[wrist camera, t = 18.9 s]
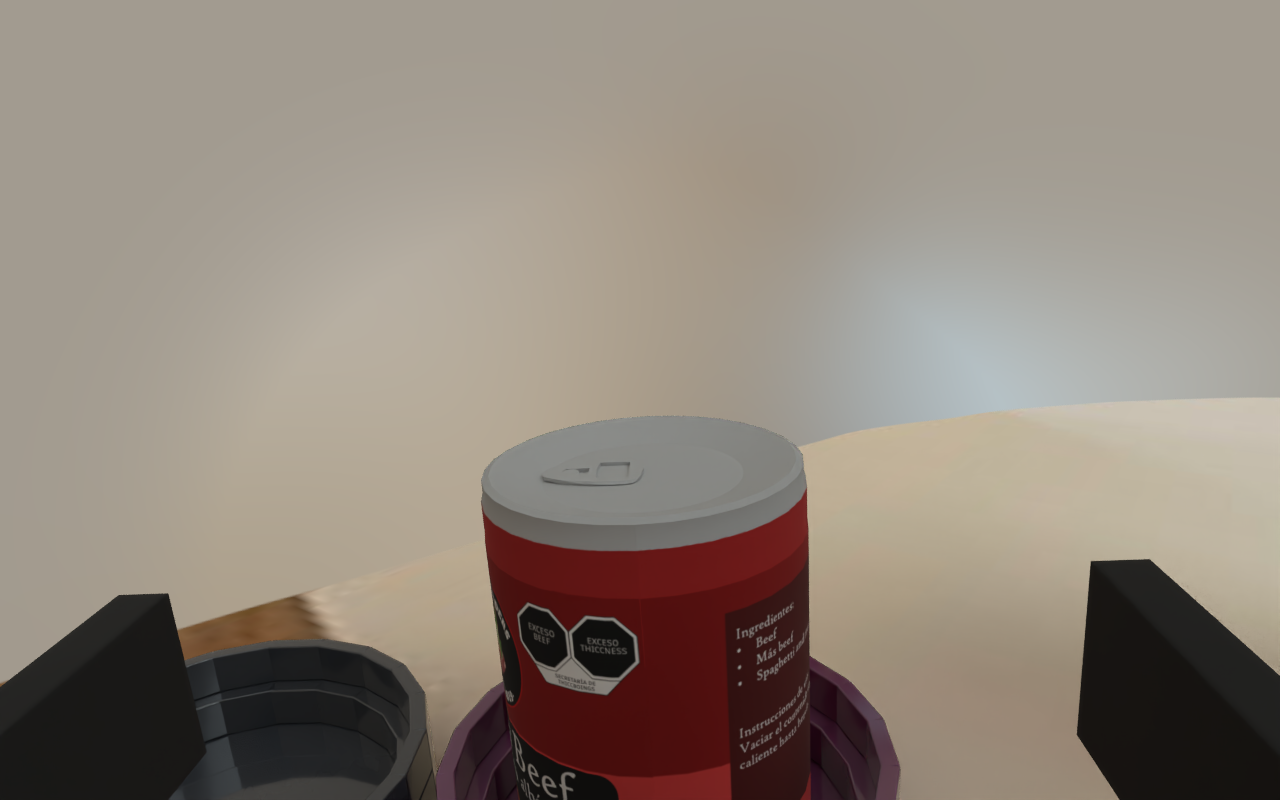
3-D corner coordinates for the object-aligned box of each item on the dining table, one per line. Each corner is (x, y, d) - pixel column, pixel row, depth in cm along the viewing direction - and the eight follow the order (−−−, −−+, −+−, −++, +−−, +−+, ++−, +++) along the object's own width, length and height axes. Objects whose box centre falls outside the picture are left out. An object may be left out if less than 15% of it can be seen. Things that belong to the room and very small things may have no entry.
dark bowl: (480, 708, 31) (469, 633, 30) (351, 1051, 19) (329, 943, 18) (151, 716, 32) (132, 643, 31) (-167, 1050, 20) (-210, 946, 19)
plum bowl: (850, 699, 30) (850, 622, 29) (956, 1053, 18) (961, 940, 17) (502, 708, 31) (492, 633, 30) (387, 1051, 19) (366, 943, 18)
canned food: (512, 769, 27) (470, 435, 24) (753, 718, 29) (742, 400, 26) (542, 986, 20) (488, 548, 17) (862, 901, 21) (864, 489, 19)
